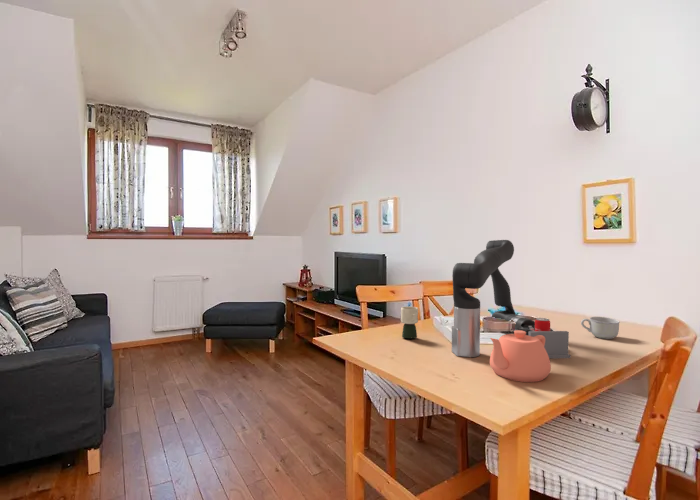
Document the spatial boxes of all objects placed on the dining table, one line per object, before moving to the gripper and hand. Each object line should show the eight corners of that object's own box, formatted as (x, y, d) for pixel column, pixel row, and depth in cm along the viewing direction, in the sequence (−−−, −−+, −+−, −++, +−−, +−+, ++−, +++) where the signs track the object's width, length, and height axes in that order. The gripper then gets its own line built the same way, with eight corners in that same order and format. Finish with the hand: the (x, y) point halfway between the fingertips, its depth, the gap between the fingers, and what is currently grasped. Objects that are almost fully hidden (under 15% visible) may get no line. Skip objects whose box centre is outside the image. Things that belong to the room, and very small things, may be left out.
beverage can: (552, 353, 139) (552, 320, 138) (536, 352, 140) (537, 320, 139) (547, 349, 144) (547, 317, 143) (533, 348, 145) (533, 317, 145)
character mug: (422, 341, 155) (422, 309, 155) (406, 342, 154) (406, 310, 153) (412, 334, 166) (412, 305, 166) (397, 335, 164) (397, 305, 164)
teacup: (618, 336, 164) (618, 318, 164) (620, 342, 155) (620, 322, 155) (580, 332, 171) (581, 314, 171) (580, 337, 162) (580, 318, 162)
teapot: (514, 391, 104) (514, 342, 103) (467, 372, 118) (468, 330, 118) (568, 375, 116) (568, 332, 115) (520, 360, 130) (520, 322, 130)
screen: (532, 358, 132) (532, 333, 132) (526, 355, 136) (526, 330, 136) (570, 358, 133) (570, 332, 133) (563, 354, 137) (563, 330, 137)
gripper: (506, 317, 155) (528, 326, 138) (539, 317, 156) (566, 326, 139) (506, 335, 156) (528, 347, 139) (539, 335, 157) (565, 346, 140)
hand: (547, 336), depth 139 cm, fingers closed on beverage can, 4 cm apart
